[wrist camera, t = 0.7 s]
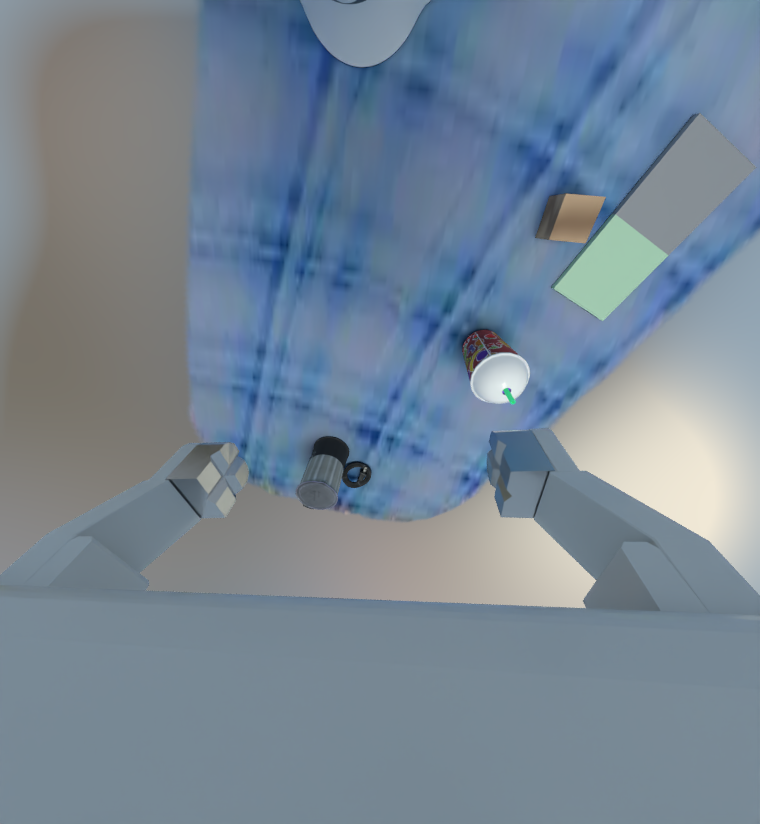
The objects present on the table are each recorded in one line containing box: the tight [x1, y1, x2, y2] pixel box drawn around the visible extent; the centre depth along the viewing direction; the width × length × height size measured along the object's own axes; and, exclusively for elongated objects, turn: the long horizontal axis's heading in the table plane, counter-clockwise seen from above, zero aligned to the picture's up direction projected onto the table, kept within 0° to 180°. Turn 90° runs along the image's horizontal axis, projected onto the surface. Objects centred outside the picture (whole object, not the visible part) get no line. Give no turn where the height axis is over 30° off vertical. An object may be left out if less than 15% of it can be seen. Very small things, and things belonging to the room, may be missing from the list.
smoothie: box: [462, 330, 530, 404], centre depth 44 cm, size 8×8×20 cm
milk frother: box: [296, 437, 371, 510], centre depth 66 cm, size 14×16×15 cm
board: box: [551, 113, 756, 321], centre depth 40 cm, size 22×11×1 cm, turn 153°
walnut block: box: [535, 194, 606, 243], centre depth 38 cm, size 5×5×5 cm
